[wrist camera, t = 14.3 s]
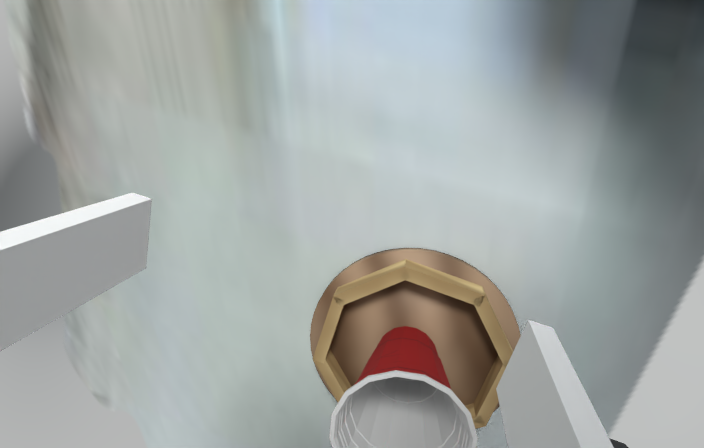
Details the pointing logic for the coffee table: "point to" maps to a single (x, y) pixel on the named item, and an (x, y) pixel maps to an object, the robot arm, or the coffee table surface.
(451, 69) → the coffee table surface
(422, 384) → the plastic cup
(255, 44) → the coffee table surface
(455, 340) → the ring base
